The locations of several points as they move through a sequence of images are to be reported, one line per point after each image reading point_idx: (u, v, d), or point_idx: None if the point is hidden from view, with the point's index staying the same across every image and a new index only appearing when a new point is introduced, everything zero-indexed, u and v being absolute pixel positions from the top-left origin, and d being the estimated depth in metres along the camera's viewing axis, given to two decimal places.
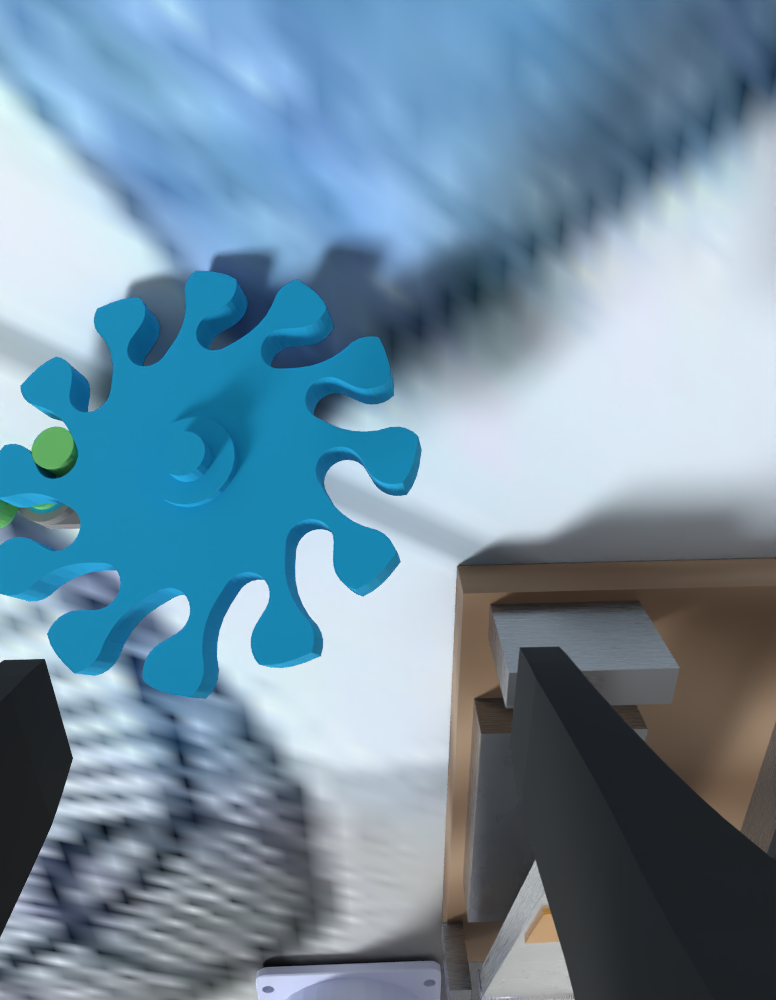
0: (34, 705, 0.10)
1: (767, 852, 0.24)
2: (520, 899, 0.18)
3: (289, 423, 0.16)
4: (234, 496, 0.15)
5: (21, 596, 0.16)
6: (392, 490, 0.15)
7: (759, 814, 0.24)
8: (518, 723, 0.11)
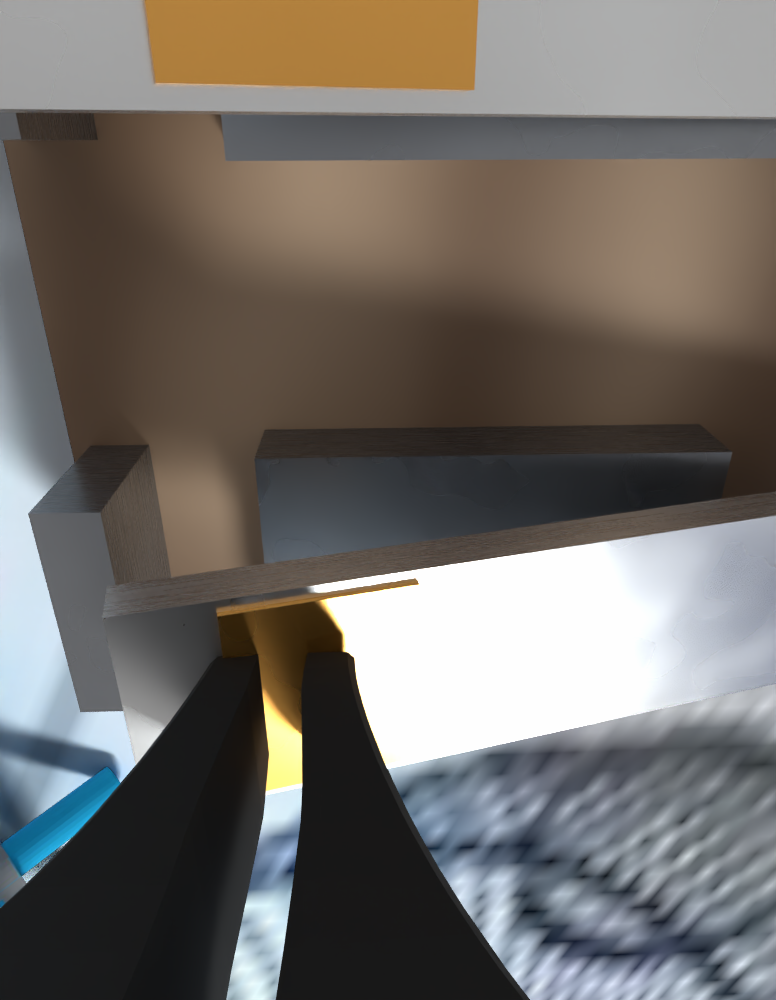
0: (255, 699, 0.10)
1: (600, 157, 0.11)
2: None
3: None
4: None
5: None
6: None
7: None
8: None
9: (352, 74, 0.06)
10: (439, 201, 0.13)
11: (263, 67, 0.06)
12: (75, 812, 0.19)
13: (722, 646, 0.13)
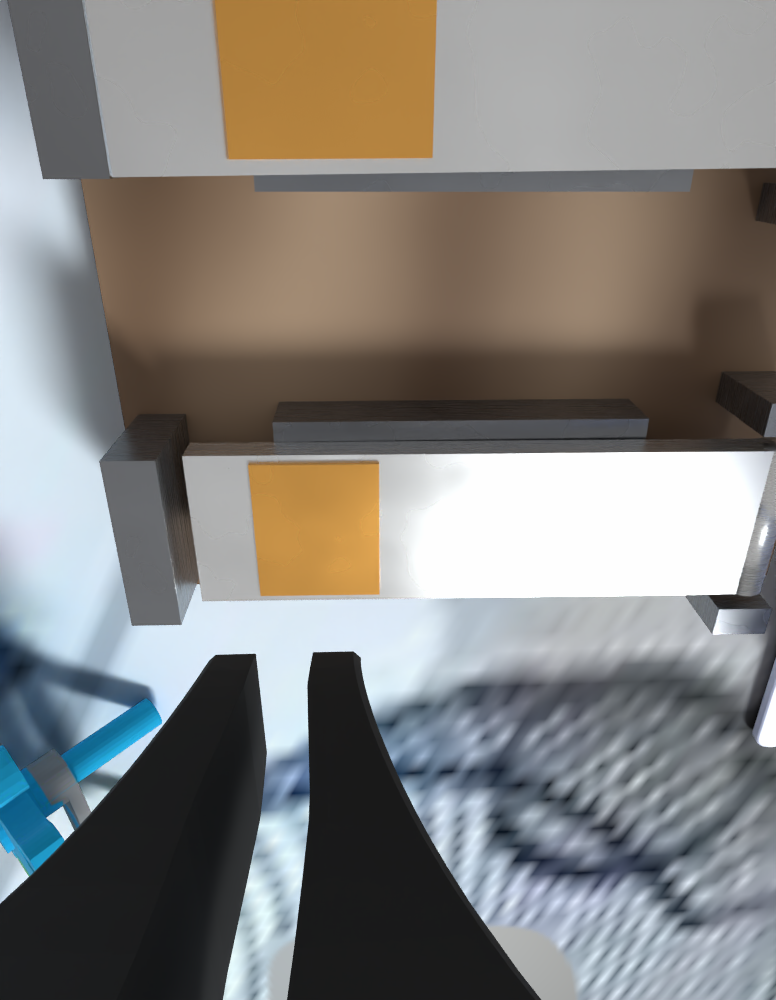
0: (252, 699, 0.10)
1: (538, 190, 0.15)
2: None
3: None
4: None
5: None
6: None
7: None
8: None
9: (352, 150, 0.10)
10: (418, 220, 0.16)
11: (295, 148, 0.10)
12: (120, 733, 0.23)
13: (621, 553, 0.18)
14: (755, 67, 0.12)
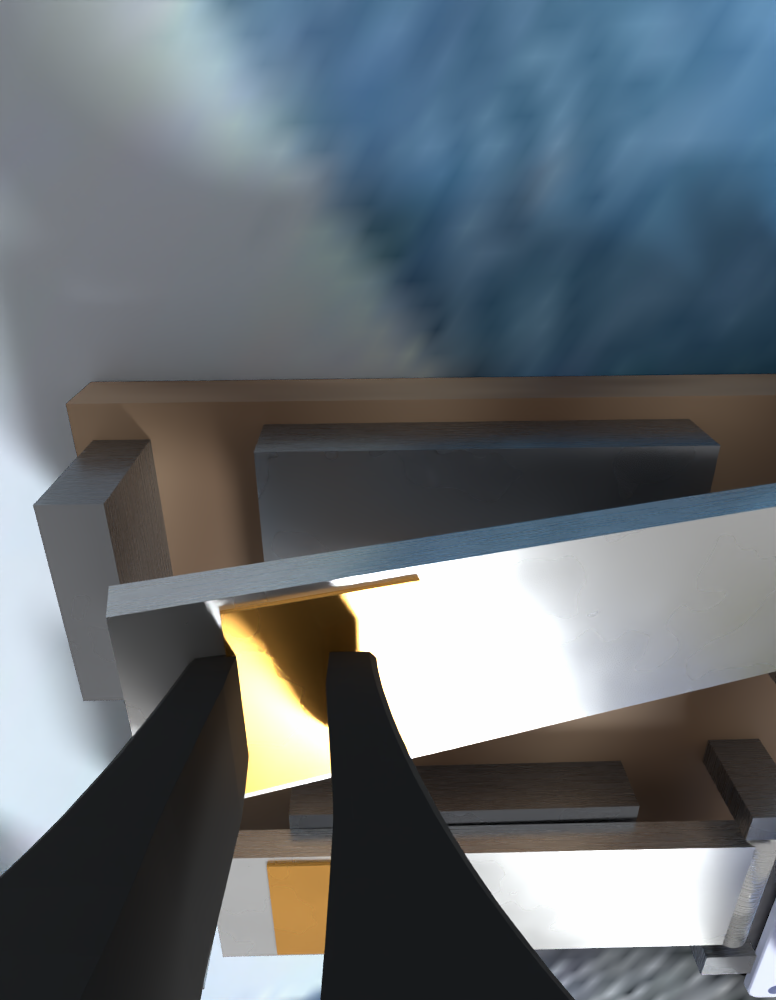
0: (233, 700, 0.10)
1: None
2: None
3: None
4: None
5: None
6: None
7: None
8: None
9: None
10: None
11: (299, 775, 0.12)
12: None
13: (614, 918, 0.19)
14: (716, 626, 0.13)
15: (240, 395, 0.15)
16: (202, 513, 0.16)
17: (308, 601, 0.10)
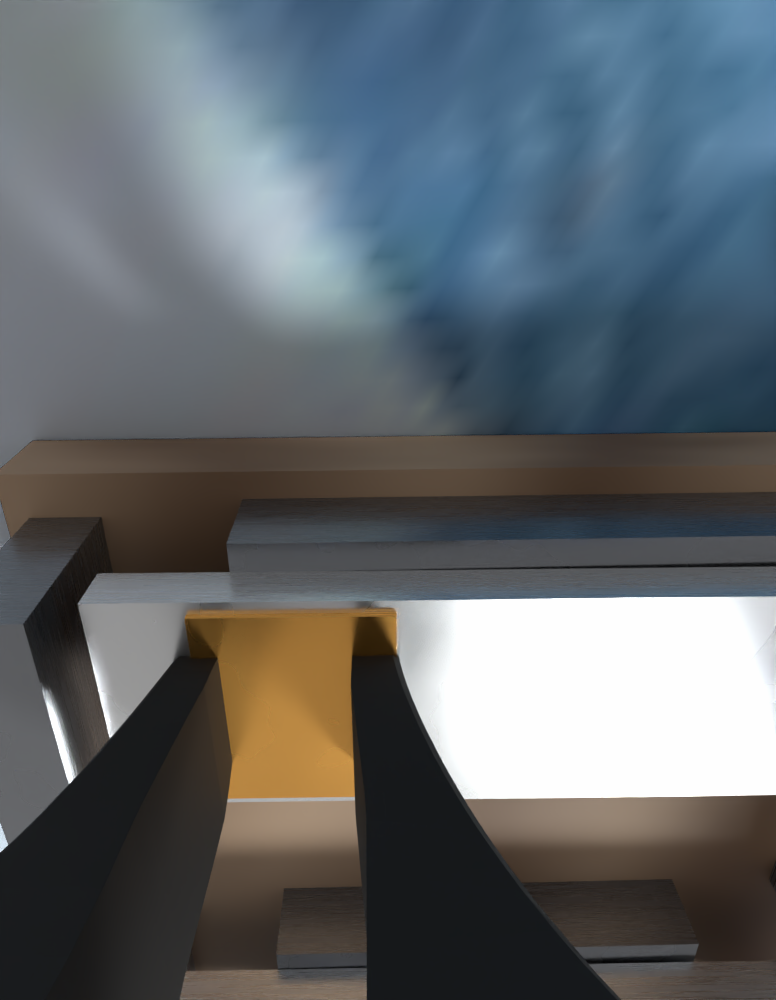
0: (215, 700, 0.10)
1: None
2: None
3: None
4: None
5: None
6: None
7: None
8: None
9: (319, 792, 0.12)
10: None
11: (268, 792, 0.12)
12: None
13: None
14: (775, 725, 0.11)
15: (214, 461, 0.12)
16: None
17: (274, 619, 0.10)
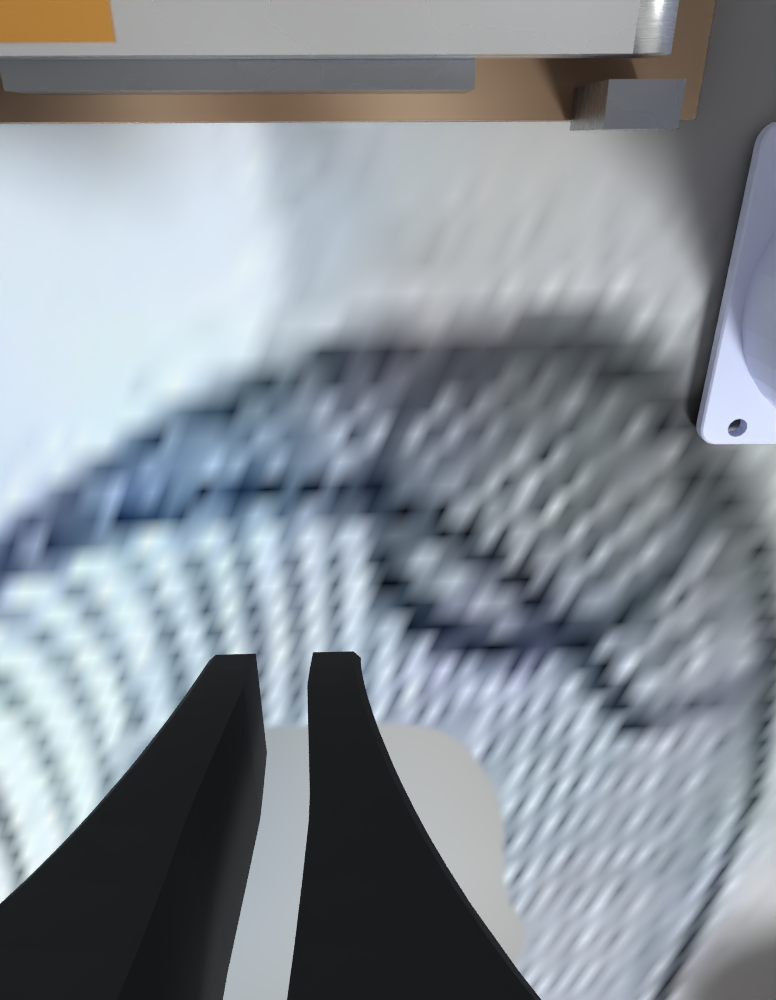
0: (252, 699, 0.10)
1: None
2: (54, 59, 0.13)
3: None
4: None
5: None
6: None
7: None
8: None
9: None
10: None
11: None
12: None
13: None
14: None
15: None
16: None
17: None
